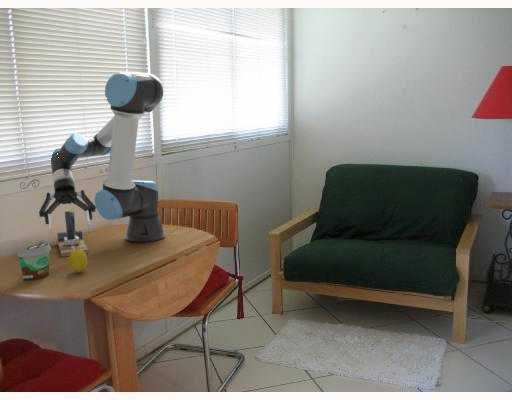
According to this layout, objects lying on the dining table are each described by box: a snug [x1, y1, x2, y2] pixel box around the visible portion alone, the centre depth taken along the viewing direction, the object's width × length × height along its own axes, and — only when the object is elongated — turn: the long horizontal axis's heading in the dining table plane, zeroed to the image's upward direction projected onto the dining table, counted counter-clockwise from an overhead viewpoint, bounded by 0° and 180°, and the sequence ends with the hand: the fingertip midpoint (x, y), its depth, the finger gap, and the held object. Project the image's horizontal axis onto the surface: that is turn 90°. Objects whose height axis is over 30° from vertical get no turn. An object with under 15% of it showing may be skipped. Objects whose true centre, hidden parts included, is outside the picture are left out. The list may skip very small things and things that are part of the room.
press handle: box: [64, 210, 80, 246], centre depth 201 cm, size 5×5×12 cm
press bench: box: [56, 229, 89, 258], centre depth 202 cm, size 20×9×4 cm, turn 23°
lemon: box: [68, 248, 88, 273], centre depth 172 cm, size 6×6×8 cm
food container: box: [17, 240, 52, 282], centre depth 169 cm, size 12×6×10 cm, turn 168°
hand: (70, 228), depth 201 cm, fingers open, 13 cm apart
